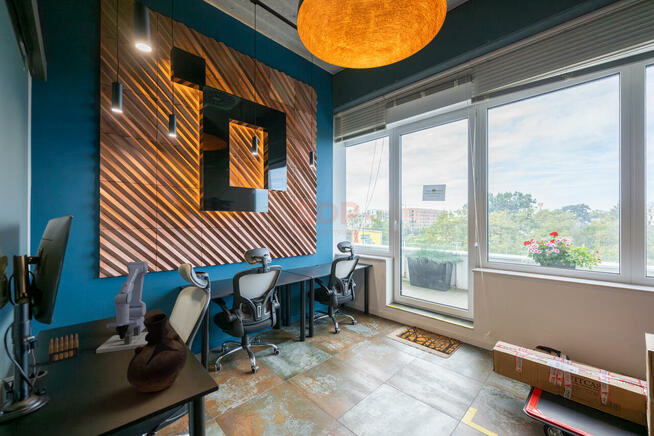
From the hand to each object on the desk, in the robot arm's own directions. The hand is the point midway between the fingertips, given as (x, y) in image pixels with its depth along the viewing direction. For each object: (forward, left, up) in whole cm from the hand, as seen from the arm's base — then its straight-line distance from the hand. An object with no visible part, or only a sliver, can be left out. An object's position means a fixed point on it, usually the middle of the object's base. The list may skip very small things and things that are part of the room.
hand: (122, 338), depth 147 cm
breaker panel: (0, +3, -3) cm, 4 cm away
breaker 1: (+6, +5, -1) cm, 8 cm away
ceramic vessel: (+52, +33, -3) cm, 61 cm away
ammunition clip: (+12, -20, -3) cm, 24 cm away
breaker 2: (-6, +5, -1) cm, 8 cm away
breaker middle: (0, +3, -1) cm, 3 cm away
